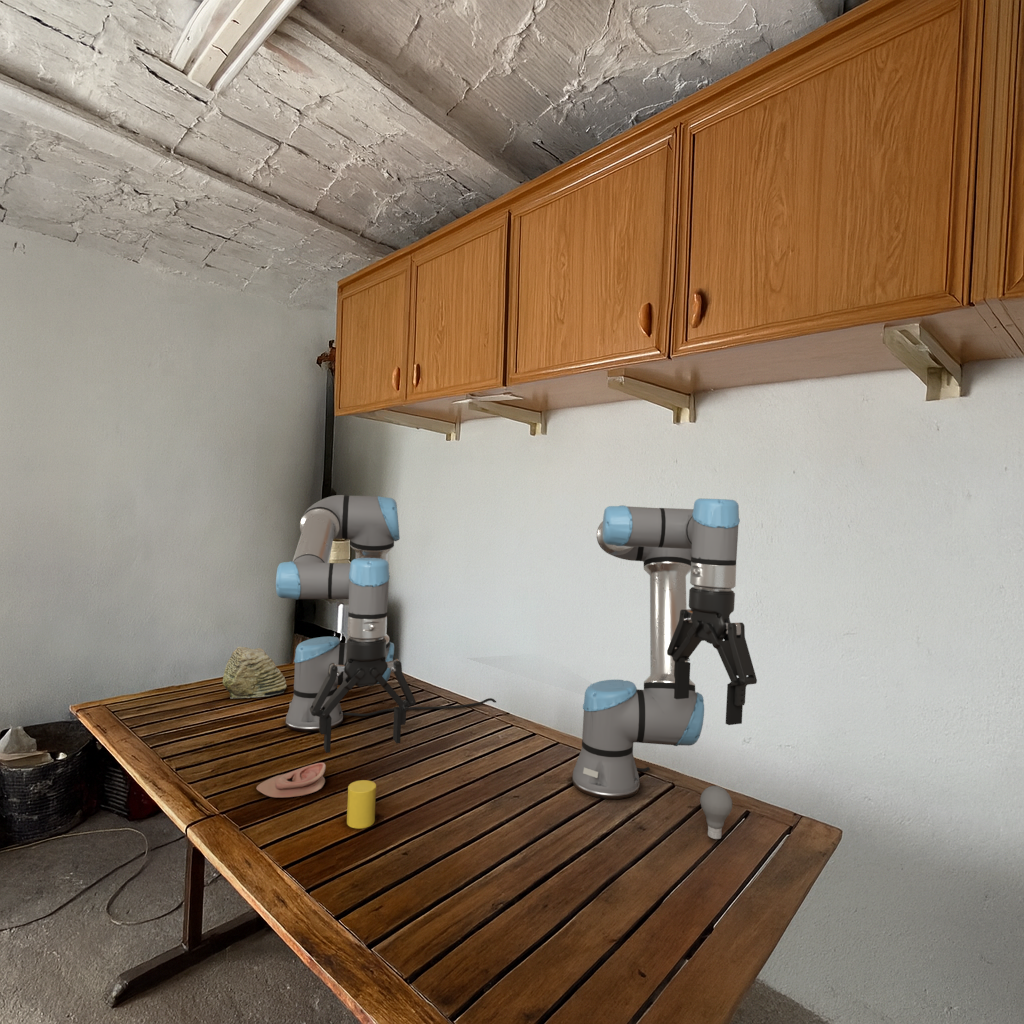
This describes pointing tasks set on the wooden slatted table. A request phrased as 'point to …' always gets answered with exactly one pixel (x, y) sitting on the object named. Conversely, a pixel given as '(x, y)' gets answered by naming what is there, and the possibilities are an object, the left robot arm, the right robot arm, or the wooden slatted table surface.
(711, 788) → the light bulb
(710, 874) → the wooden slatted table surface
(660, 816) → the wooden slatted table surface
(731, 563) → the right robot arm
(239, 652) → the fossil
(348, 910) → the wooden slatted table surface
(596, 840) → the wooden slatted table surface
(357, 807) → the cylinder
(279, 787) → the anatomical model
